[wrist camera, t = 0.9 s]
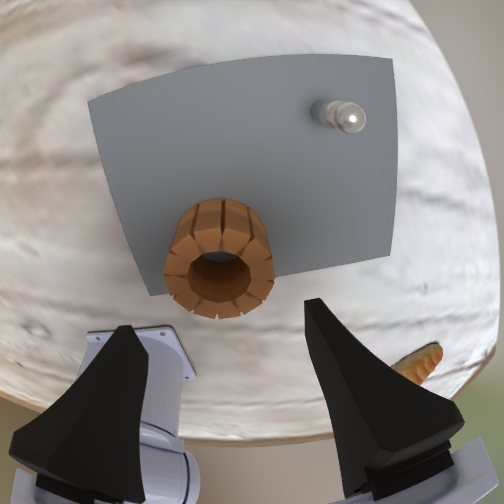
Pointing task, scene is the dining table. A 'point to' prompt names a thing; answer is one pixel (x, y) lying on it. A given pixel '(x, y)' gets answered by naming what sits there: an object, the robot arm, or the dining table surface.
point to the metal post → (338, 115)
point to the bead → (224, 273)
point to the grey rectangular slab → (255, 157)
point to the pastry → (420, 363)
